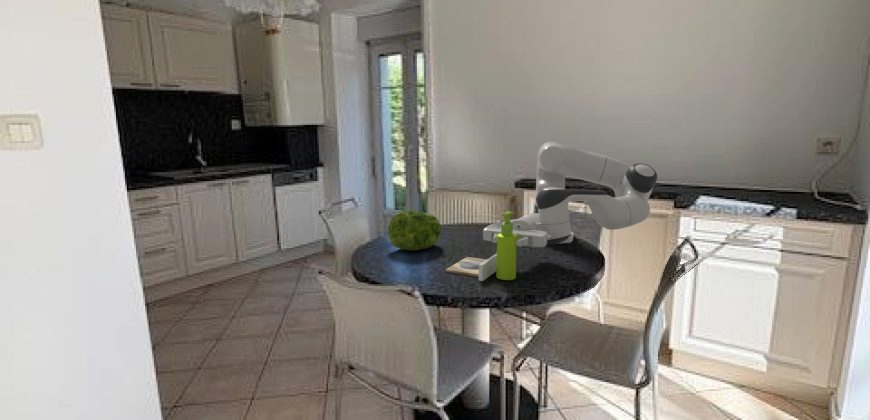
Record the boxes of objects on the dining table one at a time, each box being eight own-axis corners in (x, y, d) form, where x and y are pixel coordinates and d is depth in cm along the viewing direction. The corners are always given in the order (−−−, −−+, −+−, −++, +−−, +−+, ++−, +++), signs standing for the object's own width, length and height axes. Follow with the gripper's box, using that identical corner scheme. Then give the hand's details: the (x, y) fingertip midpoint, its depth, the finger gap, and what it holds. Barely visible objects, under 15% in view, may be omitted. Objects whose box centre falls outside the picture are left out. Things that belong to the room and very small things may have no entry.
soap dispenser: (519, 274, 146) (521, 211, 142) (511, 281, 140) (513, 215, 137) (502, 271, 149) (503, 209, 145) (493, 278, 143) (494, 213, 139)
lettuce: (450, 255, 180) (453, 215, 183) (413, 248, 164) (417, 205, 167) (418, 254, 190) (422, 217, 193) (381, 248, 175) (385, 207, 177)
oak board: (467, 259, 166) (467, 256, 165) (499, 263, 160) (499, 261, 160) (445, 271, 152) (445, 269, 152) (479, 277, 146) (479, 274, 146)
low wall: (502, 263, 160) (503, 249, 159) (506, 263, 160) (506, 249, 159) (478, 280, 143) (478, 264, 142) (482, 281, 142) (482, 265, 142)
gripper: (553, 245, 149) (539, 256, 137) (492, 238, 159) (475, 247, 147) (553, 226, 148) (540, 235, 136) (493, 219, 158) (475, 228, 146)
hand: (506, 241), depth 142 cm, fingers closed on soap dispenser, 6 cm apart
